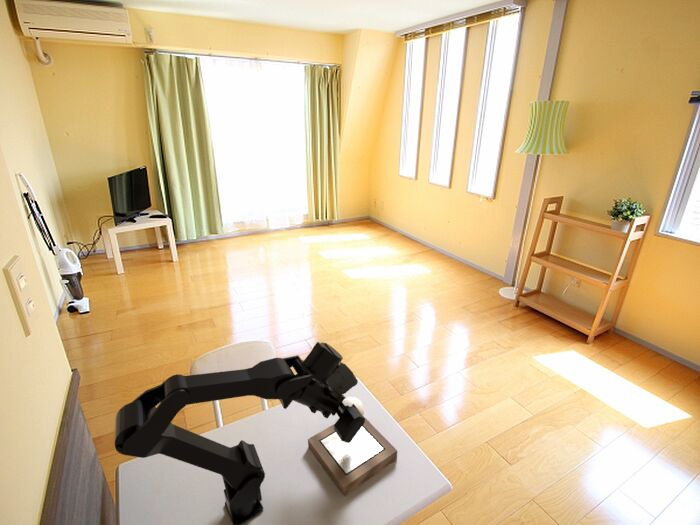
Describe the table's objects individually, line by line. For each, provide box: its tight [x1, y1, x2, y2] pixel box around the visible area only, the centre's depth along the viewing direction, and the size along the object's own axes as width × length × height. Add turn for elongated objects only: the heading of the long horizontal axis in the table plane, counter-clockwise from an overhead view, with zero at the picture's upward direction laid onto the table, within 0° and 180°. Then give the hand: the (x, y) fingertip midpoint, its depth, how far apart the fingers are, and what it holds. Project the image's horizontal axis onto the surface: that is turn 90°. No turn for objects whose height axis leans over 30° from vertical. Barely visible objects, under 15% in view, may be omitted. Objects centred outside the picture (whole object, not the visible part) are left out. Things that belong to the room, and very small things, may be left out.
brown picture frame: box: [307, 415, 398, 497], centre depth 91 cm, size 16×16×3 cm
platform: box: [321, 427, 383, 475], centre depth 91 cm, size 11×11×2 cm
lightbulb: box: [341, 396, 365, 416], centre depth 87 cm, size 6×6×11 cm
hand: (356, 412), depth 88 cm, fingers closed on lightbulb, 6 cm apart
